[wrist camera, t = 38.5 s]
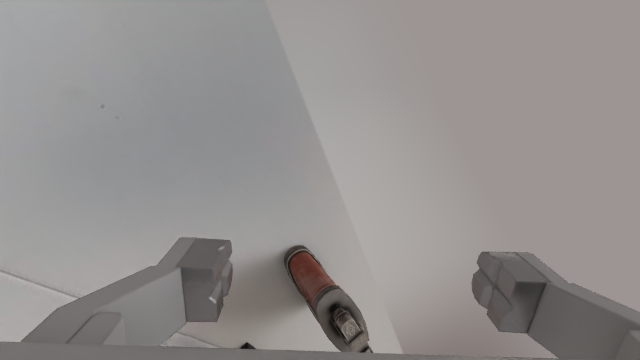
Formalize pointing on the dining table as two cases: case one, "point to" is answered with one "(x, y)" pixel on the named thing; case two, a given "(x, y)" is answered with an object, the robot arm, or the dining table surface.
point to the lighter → (327, 302)
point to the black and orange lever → (247, 346)
